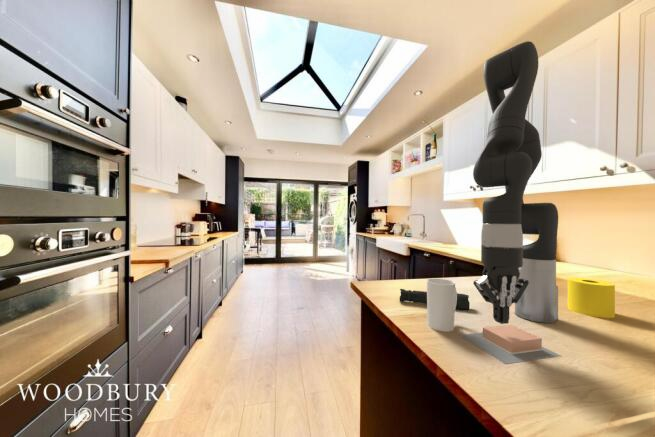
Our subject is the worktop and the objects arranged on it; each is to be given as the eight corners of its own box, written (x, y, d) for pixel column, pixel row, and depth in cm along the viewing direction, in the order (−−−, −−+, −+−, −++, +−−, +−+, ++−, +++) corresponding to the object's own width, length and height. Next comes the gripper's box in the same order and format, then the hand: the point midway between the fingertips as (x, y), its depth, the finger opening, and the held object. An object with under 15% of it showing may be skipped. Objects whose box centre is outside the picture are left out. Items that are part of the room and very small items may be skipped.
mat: (506, 331, 62) (506, 329, 62) (561, 357, 50) (561, 355, 50) (459, 336, 59) (458, 335, 59) (505, 366, 47) (505, 363, 47)
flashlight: (470, 313, 74) (470, 297, 74) (399, 304, 82) (399, 289, 82) (467, 308, 79) (467, 292, 79) (400, 300, 86) (400, 285, 86)
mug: (443, 335, 59) (444, 286, 59) (420, 325, 65) (421, 280, 65) (468, 327, 64) (468, 281, 64) (445, 318, 70) (445, 276, 70)
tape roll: (625, 318, 71) (625, 285, 71) (590, 317, 71) (590, 285, 71) (589, 306, 81) (589, 277, 81) (558, 305, 81) (558, 277, 81)
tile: (482, 338, 57) (510, 335, 59) (511, 354, 50) (541, 350, 52) (482, 327, 57) (510, 324, 59) (511, 342, 50) (541, 338, 52)
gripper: (509, 242, 59) (509, 313, 59) (463, 243, 56) (462, 318, 56) (542, 245, 52) (542, 326, 52) (491, 246, 49) (491, 332, 49)
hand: (501, 322), depth 54 cm, fingers closed
